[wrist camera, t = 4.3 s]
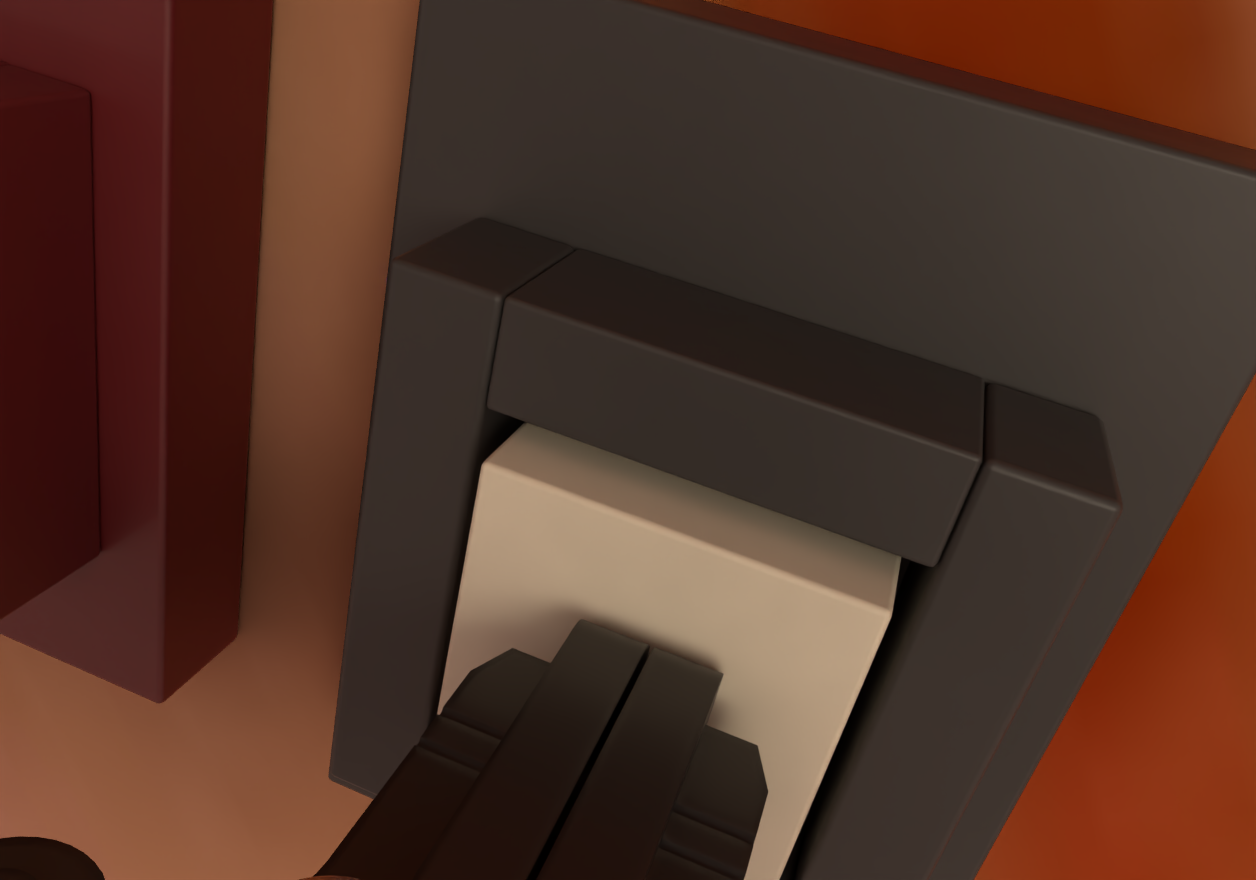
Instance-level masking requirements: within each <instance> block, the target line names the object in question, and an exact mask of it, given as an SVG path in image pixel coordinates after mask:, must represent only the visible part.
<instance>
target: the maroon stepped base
mask: <svg viewBox="0 0 1256 880" xmlns="http://www.w3.org/2000/svg"><path fill="white" fill-rule="evenodd" d="M272 11H273V0H0V634H2V635H4V636H7V637H9V638H11V639H13V640H16V641H18V642H20V643H22V644H25V645H27V646H29V647H31V648H34V649H36V650H38V651H40V652H43V653H45V654H47V655H49V656H52V657H54V658H56V659H59V660H61V661H63V662H65V663H68V664H70V665H72V666H74V667H77V668H79V669H81V670H83V671H86V672H88V673H90V674H92V675H95V676H97V677H99V678H101V679H104V680H106V681H108V682H111V683H113V684H115V685H117V686H120V687H122V688H124V689H126V690H129V691H131V692H133V693H135V694H138V695H140V696H142V697H144V698H147V699H149V700H151V701H153V702H156V703H163V702H164V701H166V700H167V699H168V698H169V697H170V696H171V695H172V694H173V693H175V692H176V691H177V690H178V689H179V688H180V687H181V686H183V685H184V684H185V683H186V682H187V681H188V680H189V679H191V678H192V677H193V676H194V675H195V674H196V673H197V672H198V671H200V670H201V669H202V668H203V667H204V666H205V665H206V664H208V663H209V662H210V661H211V660H212V659H213V658H214V657H215V656H217V655H218V654H219V653H220V652H221V651H222V650H223V649H225V648H226V647H227V646H228V645H229V644H230V643H231V642H233V641H234V640H235V638H236V637H237V634H238V616H239V599H240V581H241V563H242V545H243V527H244V510H245V492H246V474H247V456H248V438H249V421H250V403H251V385H252V367H253V349H254V332H255V314H256V296H257V278H258V260H259V242H260V225H261V207H262V189H263V171H264V153H265V136H266V118H267V100H268V82H269V64H270V47H271V29H272Z"/></svg>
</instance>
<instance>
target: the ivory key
mask: <svg viewBox="0 0 1256 880" xmlns="http://www.w3.org/2000/svg"><path fill="white" fill-rule="evenodd" d="M900 563H901V557H900V556H897V555H895V554H892V553H889V552H886V551H884V550H881V549H878V548H875V547H872V546H870V545H867V544H864V543H861V542H858V541H856V540H853V539H850V538H847V537H845V536H842V535H839V534H836V533H833V532H831V531H828V530H825V529H822V528H819V527H817V526H814V525H811V524H808V523H806V522H803V521H800V520H797V519H794V518H792V517H789V516H786V515H783V514H781V513H778V512H775V511H772V510H769V509H767V508H764V507H761V506H758V505H755V504H753V503H750V502H747V501H744V500H742V499H739V498H736V497H733V496H730V495H728V494H725V493H722V492H719V491H716V490H714V489H711V488H708V487H705V486H703V485H700V484H697V483H694V482H691V481H689V480H686V479H683V478H680V477H677V476H675V475H672V474H669V473H666V472H664V471H661V470H658V469H655V468H652V467H650V466H647V465H644V464H641V463H639V462H636V461H633V460H630V459H627V458H625V457H622V456H619V455H616V454H613V453H611V452H608V451H605V450H602V449H600V448H597V447H594V446H591V445H588V444H586V443H583V442H580V441H577V440H574V439H572V438H569V437H566V436H563V435H561V434H558V433H555V432H552V431H549V430H547V429H544V428H541V427H538V426H535V425H533V424H530V423H527V422H524V423H523V424H522V425H521V426H520V427H519V428H518V429H517V430H516V431H515V432H514V433H513V434H512V435H511V436H510V437H509V438H508V439H507V440H506V441H505V442H504V443H503V444H502V445H501V446H499V447H498V448H497V449H496V450H495V451H494V452H493V453H492V454H491V455H490V456H489V457H488V458H487V459H486V460H485V461H484V462H483V464H482V466H481V471H480V477H479V482H478V488H477V494H476V499H475V505H474V510H473V516H472V522H471V527H470V533H469V538H468V544H467V550H466V555H465V561H464V566H463V572H462V578H461V583H460V589H459V594H458V600H457V606H456V611H455V617H454V622H453V628H452V634H451V639H450V645H449V650H448V656H447V661H446V667H445V673H444V678H443V684H442V689H441V695H440V701H439V706H438V712H437V714H439V715H440V714H441V712H442V709H443V706H444V705H445V704H446V702H447V701H448V700H449V698H450V697H451V696H452V694H453V693H454V692H455V690H456V689H457V688H458V686H459V685H460V684H461V682H462V681H463V680H464V678H465V677H466V676H467V674H468V673H469V672H470V671H471V670H473V669H475V668H476V667H478V666H480V665H482V664H484V663H486V662H487V661H489V660H491V659H493V658H495V657H497V656H498V655H500V654H502V653H504V652H506V651H508V650H509V649H511V648H514V649H517V650H519V651H522V652H524V653H527V654H529V655H532V656H534V657H537V658H539V659H542V660H544V661H547V662H549V663H551V662H552V660H553V659H554V657H555V656H556V654H557V653H558V651H559V649H560V648H561V646H562V645H563V643H564V642H565V640H566V639H567V637H568V635H569V634H570V632H571V631H572V629H573V628H574V626H575V625H576V623H577V622H578V621H579V620H581V619H583V620H586V621H589V622H591V623H594V624H596V625H599V626H601V627H604V628H607V629H609V630H612V631H614V632H617V633H619V634H622V635H625V636H627V637H630V638H632V639H635V640H637V641H640V642H643V643H645V644H648V645H649V646H650V647H649V654H648V657H649V655H650V653H651V652H652V650H653V649H654V647H656V648H659V649H661V650H664V651H667V652H669V653H672V654H674V655H677V656H679V657H682V658H685V659H687V660H690V661H692V662H695V663H698V664H700V665H703V666H705V667H708V668H710V669H713V670H716V671H718V672H721V673H723V674H724V675H723V678H722V681H721V685H720V687H719V690H718V693H717V696H716V699H715V702H714V705H713V708H712V711H711V714H710V717H709V720H708V723H707V725H708V726H710V727H713V728H715V729H718V730H721V731H723V732H726V733H728V734H731V735H733V736H736V737H738V738H741V739H743V740H746V741H748V742H751V743H753V744H756V745H758V749H759V753H760V758H761V762H762V766H763V771H764V775H765V779H766V784H767V788H768V795H767V799H766V802H765V806H764V810H763V813H762V817H761V821H760V824H759V828H758V831H757V835H756V838H755V841H754V844H753V845H754V846H753V850H752V853H751V857H750V861H749V864H748V868H747V871H746V875H745V878H744V880H780V877H781V875H782V872H783V870H784V868H785V865H786V863H787V861H788V858H789V856H790V854H791V851H792V849H793V847H794V844H795V842H796V840H797V837H798V835H799V833H800V830H801V828H802V826H803V823H804V821H805V819H806V816H807V814H808V812H809V809H810V807H811V805H812V802H813V800H814V798H815V795H816V793H817V791H818V788H819V786H820V783H821V781H822V779H823V776H824V774H825V772H826V769H827V767H828V765H829V762H830V760H831V758H832V755H833V753H834V751H835V748H836V746H837V744H838V741H839V739H840V737H841V734H842V732H843V730H844V727H845V725H846V723H847V720H848V718H849V716H850V713H851V711H852V709H853V706H854V704H855V702H856V699H857V697H858V695H859V692H860V690H861V687H862V685H863V683H864V680H865V678H866V676H867V673H868V671H869V669H870V666H871V664H872V662H873V659H874V657H875V655H876V652H877V650H878V648H879V645H880V643H881V641H882V638H883V636H884V634H885V631H886V629H887V627H888V624H889V622H890V620H891V617H892V612H893V606H894V600H895V594H896V588H897V581H898V575H899V569H900ZM647 659H648V658H647Z"/></svg>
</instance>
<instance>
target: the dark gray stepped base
mask: <svg viewBox="0 0 1256 880" xmlns="http://www.w3.org/2000/svg"><path fill="white" fill-rule="evenodd" d="M1255 373H1256V150H1252V149H1249V148H1245V147H1241V146H1238V145H1234V144H1230V143H1226V142H1223V141H1219V140H1215V139H1212V138H1208V137H1204V136H1201V135H1197V134H1193V133H1190V132H1186V131H1182V130H1179V129H1175V128H1171V127H1167V126H1164V125H1160V124H1156V123H1153V122H1149V121H1145V120H1142V119H1138V118H1134V117H1131V116H1127V115H1123V114H1120V113H1116V112H1112V111H1108V110H1105V109H1101V108H1097V107H1094V106H1090V105H1086V104H1083V103H1079V102H1075V101H1072V100H1068V99H1064V98H1061V97H1057V96H1053V95H1049V94H1046V93H1042V92H1038V91H1035V90H1031V89H1027V88H1024V87H1020V86H1016V85H1013V84H1009V83H1005V82H1002V81H998V80H994V79H991V78H987V77H983V76H979V75H976V74H972V73H968V72H965V71H961V70H957V69H954V68H950V67H946V66H943V65H939V64H935V63H932V62H928V61H924V60H920V59H917V58H913V57H909V56H906V55H902V54H898V53H895V52H891V51H887V50H884V49H880V48H876V47H873V46H869V45H865V44H861V43H858V42H854V41H850V40H847V39H843V38H839V37H836V36H832V35H828V34H825V33H821V32H817V31H814V30H810V29H806V28H802V27H799V26H795V25H791V24H788V23H784V22H780V21H777V20H773V19H769V18H766V17H762V16H758V15H755V14H751V13H747V12H743V11H740V10H736V9H732V8H729V7H725V6H721V5H718V4H714V3H710V2H707V1H703V0H420V4H419V12H418V21H417V29H416V38H415V46H414V55H413V63H412V72H411V80H410V89H409V97H408V106H407V114H406V123H405V131H404V140H403V148H402V157H401V165H400V174H399V182H398V191H397V199H396V208H395V216H394V225H393V233H392V241H391V250H390V258H389V267H388V275H387V284H386V292H385V301H384V309H383V318H382V326H381V335H380V343H379V352H378V360H377V369H376V377H375V386H374V394H373V403H372V411H371V420H370V428H369V437H368V445H367V454H366V462H365V470H364V479H363V487H362V496H361V504H360V513H359V521H358V530H357V538H356V547H355V555H354V564H353V572H352V581H351V589H350V598H349V606H348V615H347V623H346V632H345V640H344V649H343V657H342V666H341V674H340V683H339V691H338V699H337V708H336V716H335V725H334V733H333V742H332V750H331V759H330V767H329V779H330V780H332V781H334V782H336V783H338V784H340V785H343V786H345V787H347V788H349V789H352V790H354V791H356V792H358V793H361V794H363V795H365V796H368V797H370V798H372V799H374V798H375V797H376V796H377V794H378V793H379V792H380V790H381V789H382V788H383V786H384V785H385V784H386V782H387V781H388V780H389V778H390V777H391V776H392V774H393V773H394V772H395V770H396V769H397V768H398V766H399V765H400V764H401V762H402V761H403V760H404V758H405V757H406V756H407V754H408V753H409V752H410V750H411V749H412V748H413V746H414V745H416V746H417V744H418V743H419V740H420V737H421V736H422V734H423V733H424V732H425V730H426V729H427V728H428V726H429V725H430V724H431V722H432V721H433V720H434V718H435V717H436V716H437V712H438V706H439V701H440V695H441V689H442V684H443V678H444V673H445V667H446V661H447V656H448V650H449V645H450V639H451V634H452V628H453V622H454V617H455V611H456V606H457V600H458V594H459V589H460V583H461V578H462V572H463V566H464V561H465V555H466V550H467V544H468V538H469V533H470V527H471V522H472V516H473V510H474V505H475V499H476V494H477V488H478V482H479V477H480V471H481V466H482V464H483V462H484V461H485V460H486V459H487V458H488V457H489V456H490V455H491V454H492V453H493V452H494V451H495V450H496V449H497V448H498V447H499V446H501V445H502V444H503V443H504V442H505V441H506V440H507V439H508V438H509V437H510V436H511V435H512V434H513V433H514V432H515V431H516V430H517V429H518V428H519V427H520V426H521V425H522V424H523V423H524V422H527V423H530V424H533V425H535V426H538V427H541V428H544V429H547V430H549V431H552V432H555V433H558V434H561V435H563V436H566V437H569V438H572V439H574V440H577V441H580V442H583V443H586V444H588V445H591V446H594V447H597V448H600V449H602V450H605V451H608V452H611V453H613V454H616V455H619V456H622V457H625V458H627V459H630V460H633V461H636V462H639V463H641V464H644V465H647V466H650V467H652V468H655V469H658V470H661V471H664V472H666V473H669V474H672V475H675V476H677V477H680V478H683V479H686V480H689V481H691V482H694V483H697V484H700V485H703V486H705V487H708V488H711V489H714V490H716V491H719V492H722V493H725V494H728V495H730V496H733V497H736V498H739V499H742V500H744V501H747V502H750V503H753V504H755V505H758V506H761V507H764V508H767V509H769V510H772V511H775V512H778V513H781V514H783V515H786V516H789V517H792V518H794V519H797V520H800V521H803V522H806V523H808V524H811V525H814V526H817V527H819V528H822V529H825V530H828V531H831V532H833V533H836V534H839V535H842V536H845V537H847V538H850V539H853V540H856V541H858V542H861V543H864V544H867V545H870V546H872V547H875V548H878V549H881V550H884V551H886V552H889V553H892V554H895V555H897V556H900V557H901V563H900V569H899V575H898V581H897V588H896V594H895V600H894V606H893V612H892V617H891V620H890V622H889V624H888V627H887V629H886V631H885V634H884V636H883V638H882V641H881V643H880V645H879V648H878V650H877V652H876V655H875V657H874V659H873V662H872V664H871V666H870V669H869V671H868V673H867V676H866V678H865V680H864V683H863V685H862V687H861V690H860V692H859V695H858V697H857V699H856V702H855V704H854V706H853V709H852V711H851V713H850V716H849V718H848V720H847V723H846V725H845V727H844V730H843V732H842V734H841V737H840V739H839V741H838V744H837V746H836V748H835V751H834V753H833V755H832V758H831V760H830V762H829V765H828V767H827V769H826V772H825V774H824V776H823V779H822V781H821V783H820V786H819V788H818V791H817V793H816V795H815V798H814V800H813V802H812V805H811V807H810V809H809V812H808V814H807V816H806V819H805V821H804V823H803V826H802V828H801V830H800V833H799V835H798V837H797V840H796V842H795V844H794V847H793V849H792V851H791V854H790V856H789V858H788V861H787V863H786V865H785V868H784V870H783V872H782V875H781V877H780V880H974V878H975V876H976V875H977V873H978V871H979V869H980V867H981V866H982V864H983V862H984V860H985V858H986V857H987V855H988V853H989V851H990V849H991V848H992V846H993V844H994V842H995V840H996V839H997V837H998V835H999V833H1000V831H1001V830H1002V828H1003V826H1004V824H1005V822H1006V821H1007V819H1008V817H1009V815H1010V814H1011V812H1012V810H1013V808H1014V806H1015V805H1016V803H1017V801H1018V799H1019V797H1020V796H1021V794H1022V792H1023V790H1024V788H1025V787H1026V785H1027V783H1028V781H1029V779H1030V778H1031V776H1032V774H1033V772H1034V770H1035V769H1036V767H1037V765H1038V763H1039V761H1040V760H1041V758H1042V756H1043V754H1044V752H1045V751H1046V749H1047V747H1048V745H1049V743H1050V742H1051V740H1052V738H1053V736H1054V734H1055V733H1056V731H1057V729H1058V727H1059V725H1060V724H1061V722H1062V720H1063V718H1064V716H1065V715H1066V713H1067V711H1068V709H1069V708H1070V706H1071V704H1072V702H1073V700H1074V699H1075V697H1076V695H1077V693H1078V691H1079V690H1080V688H1081V686H1082V684H1083V682H1084V681H1085V679H1086V677H1087V675H1088V673H1089V672H1090V670H1091V668H1092V666H1093V664H1094V663H1095V661H1096V659H1097V657H1098V655H1099V654H1100V652H1101V650H1102V648H1103V646H1104V645H1105V643H1106V641H1107V639H1108V637H1109V636H1110V634H1111V632H1112V630H1113V628H1114V627H1115V625H1116V623H1117V621H1118V619H1119V618H1120V616H1121V614H1122V612H1123V611H1124V609H1125V607H1126V605H1127V603H1128V602H1129V600H1130V598H1131V596H1132V594H1133V593H1134V591H1135V589H1136V587H1137V585H1138V584H1139V582H1140V580H1141V578H1142V576H1143V575H1144V573H1145V571H1146V569H1147V567H1148V566H1149V564H1150V562H1151V560H1152V558H1153V557H1154V555H1155V553H1156V551H1157V549H1158V548H1159V546H1160V544H1161V542H1162V540H1163V539H1164V537H1165V535H1166V533H1167V531H1168V530H1169V528H1170V526H1171V524H1172V522H1173V521H1174V519H1175V517H1176V515H1177V513H1178V512H1179V510H1180V508H1181V506H1182V505H1183V503H1184V501H1185V499H1186V497H1187V496H1188V494H1189V492H1190V490H1191V488H1192V487H1193V485H1194V483H1195V481H1196V479H1197V478H1198V476H1199V474H1200V472H1201V470H1202V469H1203V467H1204V465H1205V463H1206V461H1207V460H1208V458H1209V456H1210V454H1211V452H1212V451H1213V449H1214V447H1215V445H1216V443H1217V442H1218V440H1219V438H1220V436H1221V434H1222V433H1223V431H1224V429H1225V427H1226V425H1227V424H1228V422H1229V420H1230V418H1231V416H1232V415H1233V413H1234V411H1235V409H1236V407H1237V406H1238V404H1239V402H1240V400H1241V399H1242V397H1243V395H1244V393H1245V391H1246V390H1247V388H1248V386H1249V384H1250V382H1251V381H1252V379H1253V377H1254V375H1255Z"/></svg>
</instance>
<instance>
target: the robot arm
mask: <svg viewBox="0 0 1256 880" xmlns="http://www.w3.org/2000/svg"><path fill="white" fill-rule="evenodd" d="M649 647H650V646H649V645H648V644H645V643H643V642H640V641H637V640H635V639H632V638H630V637H627V636H625V635H622V634H619V633H617V632H614V631H612V630H609V629H607V628H604V627H601V626H599V625H596V624H594V623H591V622H589V621H586V620H583V619H581V620H579V621H578V622H577V623H576V625H575V626H574V628H573V629H572V631H571V632H570V634H569V635H568V637H567V639H566V640H565V642H564V643H563V645H562V646H561V648H560V649H559V651H558V653H557V654H556V656H555V657H554V659H553V660H552V662H551V663H549V662H547V661H544V660H542V659H539V658H537V657H534V656H532V655H529V654H527V653H524V652H522V651H519V650H517V649H514V648H511V649H509V650H508V651H506V652H504V653H502V654H500V655H498V656H497V657H495V658H493V659H491V660H489V661H487V662H486V663H484V664H482V665H480V666H478V667H476V668H475V669H473V670H471V671H470V672H469V673H468V674H467V676H466V677H465V678H464V680H463V681H462V682H461V684H460V685H459V686H458V688H457V689H456V690H455V692H454V693H453V694H452V696H451V697H450V698H449V700H448V701H447V702H446V704H445V705H444V706H443V709H442V712H441V714H440V715H439V714H437V716H436V717H435V718H434V720H433V721H432V722H431V724H430V725H429V726H428V728H427V729H426V730H425V732H424V733H423V734H422V736H421V737H420V740H419V743H418V744H417V746H416V745H414V746H413V748H412V749H411V750H410V752H409V753H408V754H407V756H406V757H405V758H404V760H403V761H402V762H401V764H400V765H399V766H398V768H397V769H396V770H395V772H394V773H393V774H392V776H391V777H390V778H389V780H388V781H387V782H386V784H385V785H384V786H383V788H382V789H381V790H380V792H379V793H378V794H377V796H376V797H375V798H374V800H373V801H372V802H371V804H370V805H369V806H368V808H367V809H366V810H365V812H364V813H363V814H362V816H361V817H360V818H359V820H358V821H357V822H356V824H355V825H354V826H353V828H352V829H351V830H350V832H349V833H348V834H347V836H346V837H345V838H344V840H343V841H342V842H341V844H340V845H339V846H338V848H337V849H336V850H335V852H334V853H333V854H332V856H331V857H330V858H329V860H328V861H327V862H326V863H325V864H324V865H323V867H322V868H321V869H320V870H319V871H318V872H317V873H316V874H315V875H314V876H313V877H309V878H304V879H299V880H744V878H745V875H746V871H747V868H748V864H749V861H750V857H751V853H752V850H753V846H754V845H753V844H754V841H755V838H756V835H757V831H758V828H759V824H760V821H761V817H762V813H763V810H764V806H765V802H766V799H767V795H768V788H767V784H766V779H765V775H764V771H763V766H762V762H761V758H760V753H759V749H758V745H756V744H753V743H751V742H748V741H746V740H743V739H741V738H738V737H736V736H733V735H731V734H728V733H726V732H723V731H721V730H718V729H715V728H713V727H710V726H708V725H707V723H708V720H709V717H710V714H711V711H712V708H713V705H714V702H715V699H716V696H717V693H718V690H719V687H720V685H721V681H722V678H723V675H724V674H723V673H721V672H718V671H716V670H713V669H710V668H708V667H705V666H703V665H700V664H698V663H695V662H692V661H690V660H687V659H685V658H682V657H679V656H677V655H674V654H672V653H669V652H667V651H664V650H661V649H659V648H656V647H654V649H653V650H652V652H651V653H650V655H649V657H648V654H649ZM647 658H648V659H647ZM0 880H105V878H104V876H103V873H102V872H101V870H100V869H99V868H98V866H97V865H96V863H95V862H94V861H93V860H92V859H90V858H89V857H88V856H87V855H86V854H85V853H84V852H82V851H80V850H78V849H76V848H75V847H73V846H71V845H68V844H65V843H62V842H59V841H56V840H52V839H46V838H40V837H10V838H1V839H0Z"/></svg>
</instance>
